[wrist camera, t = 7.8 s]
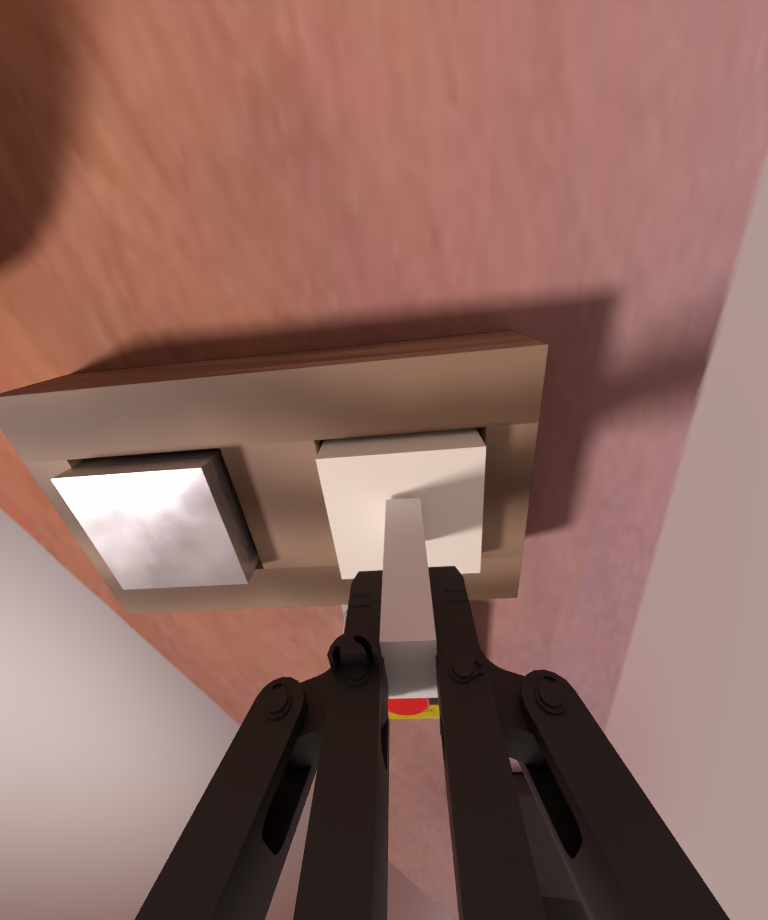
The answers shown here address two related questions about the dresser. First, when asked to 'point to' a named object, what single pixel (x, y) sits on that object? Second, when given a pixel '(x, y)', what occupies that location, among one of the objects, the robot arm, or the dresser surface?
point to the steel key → (163, 518)
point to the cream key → (405, 494)
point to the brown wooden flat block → (296, 446)
